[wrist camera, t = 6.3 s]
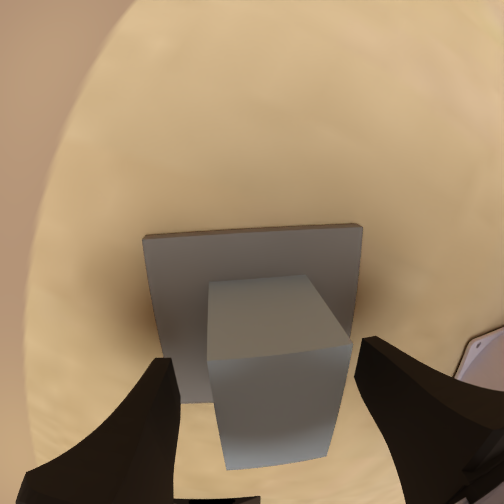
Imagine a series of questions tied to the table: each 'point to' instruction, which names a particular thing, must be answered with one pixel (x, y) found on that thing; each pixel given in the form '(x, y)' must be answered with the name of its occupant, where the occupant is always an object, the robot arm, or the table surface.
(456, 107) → the table surface
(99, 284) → the table surface
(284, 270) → the mat
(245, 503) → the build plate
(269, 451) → the brick
